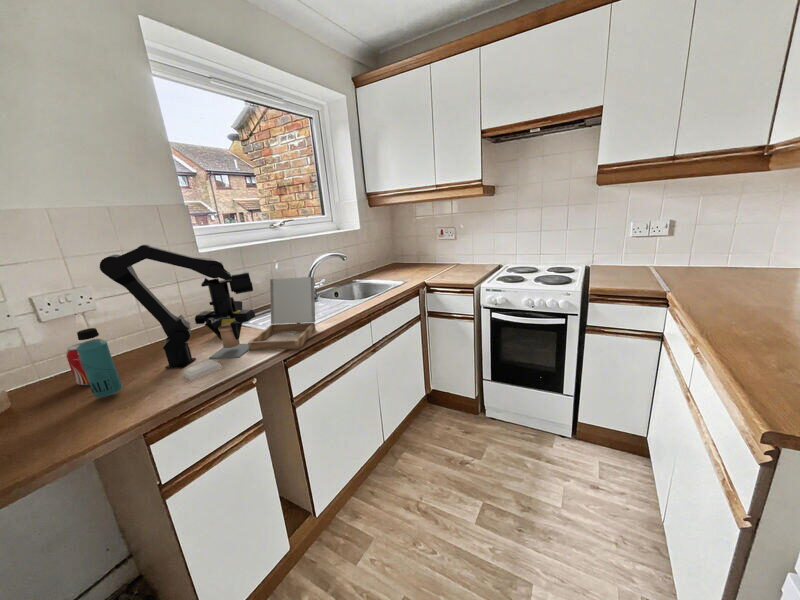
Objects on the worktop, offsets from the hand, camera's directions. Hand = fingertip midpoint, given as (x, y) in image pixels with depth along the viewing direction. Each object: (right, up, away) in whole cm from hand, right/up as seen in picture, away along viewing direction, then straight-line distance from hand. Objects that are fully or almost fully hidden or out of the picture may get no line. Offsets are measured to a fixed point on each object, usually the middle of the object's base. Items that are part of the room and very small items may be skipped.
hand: (230, 339), depth 118 cm
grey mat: (0, -4, +1) cm, 4 cm away
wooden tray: (+16, -1, +8) cm, 18 cm away
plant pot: (-11, 0, +21) cm, 24 cm away
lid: (+16, +14, +17) cm, 27 cm away
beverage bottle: (-22, -13, -23) cm, 35 cm away
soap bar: (-2, -9, -13) cm, 16 cm away
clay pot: (0, -2, +1) cm, 2 cm away
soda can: (-36, -11, -13) cm, 40 cm away
